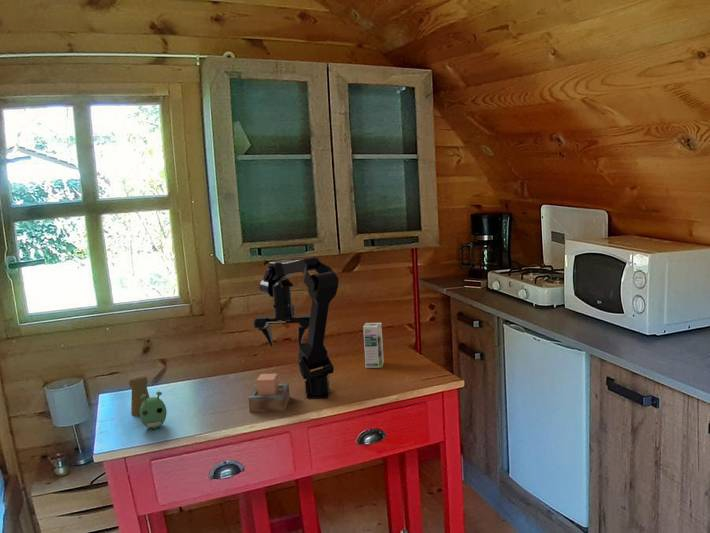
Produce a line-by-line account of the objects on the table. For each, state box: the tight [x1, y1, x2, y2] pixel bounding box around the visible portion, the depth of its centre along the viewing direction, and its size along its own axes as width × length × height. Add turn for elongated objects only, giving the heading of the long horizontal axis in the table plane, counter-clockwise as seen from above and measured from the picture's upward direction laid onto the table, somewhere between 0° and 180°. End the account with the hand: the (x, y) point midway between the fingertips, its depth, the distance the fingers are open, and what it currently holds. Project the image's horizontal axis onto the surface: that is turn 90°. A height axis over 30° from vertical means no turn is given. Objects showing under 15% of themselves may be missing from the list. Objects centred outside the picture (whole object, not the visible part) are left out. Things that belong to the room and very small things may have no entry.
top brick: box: [256, 373, 279, 396], centre depth 174 cm, size 5×5×5 cm
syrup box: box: [362, 322, 385, 369], centre depth 202 cm, size 6×6×14 cm
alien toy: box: [139, 391, 168, 429], centre depth 163 cm, size 7×8×10 cm
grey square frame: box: [248, 383, 291, 413], centre depth 175 cm, size 10×10×5 cm
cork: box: [128, 374, 151, 417], centre depth 175 cm, size 6×6×11 cm
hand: (286, 346), depth 194 cm, fingers open, 9 cm apart
